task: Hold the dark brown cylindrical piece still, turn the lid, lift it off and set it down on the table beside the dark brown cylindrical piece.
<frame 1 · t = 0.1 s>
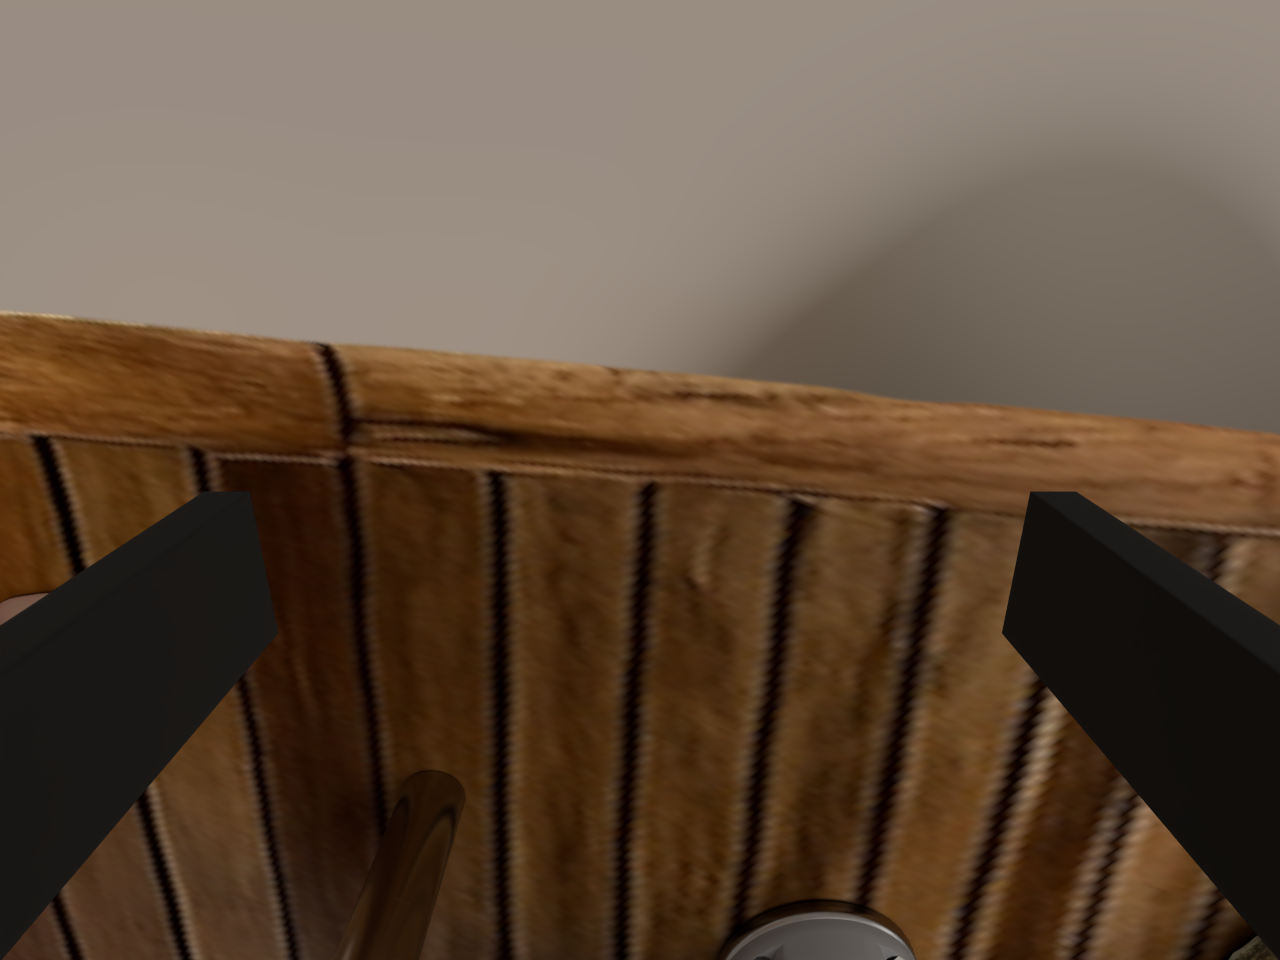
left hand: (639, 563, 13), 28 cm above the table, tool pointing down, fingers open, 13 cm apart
dark brown cylindrical piece: (434, 795, 50), on the table
anatomical model: (63, 674, 47), on the table
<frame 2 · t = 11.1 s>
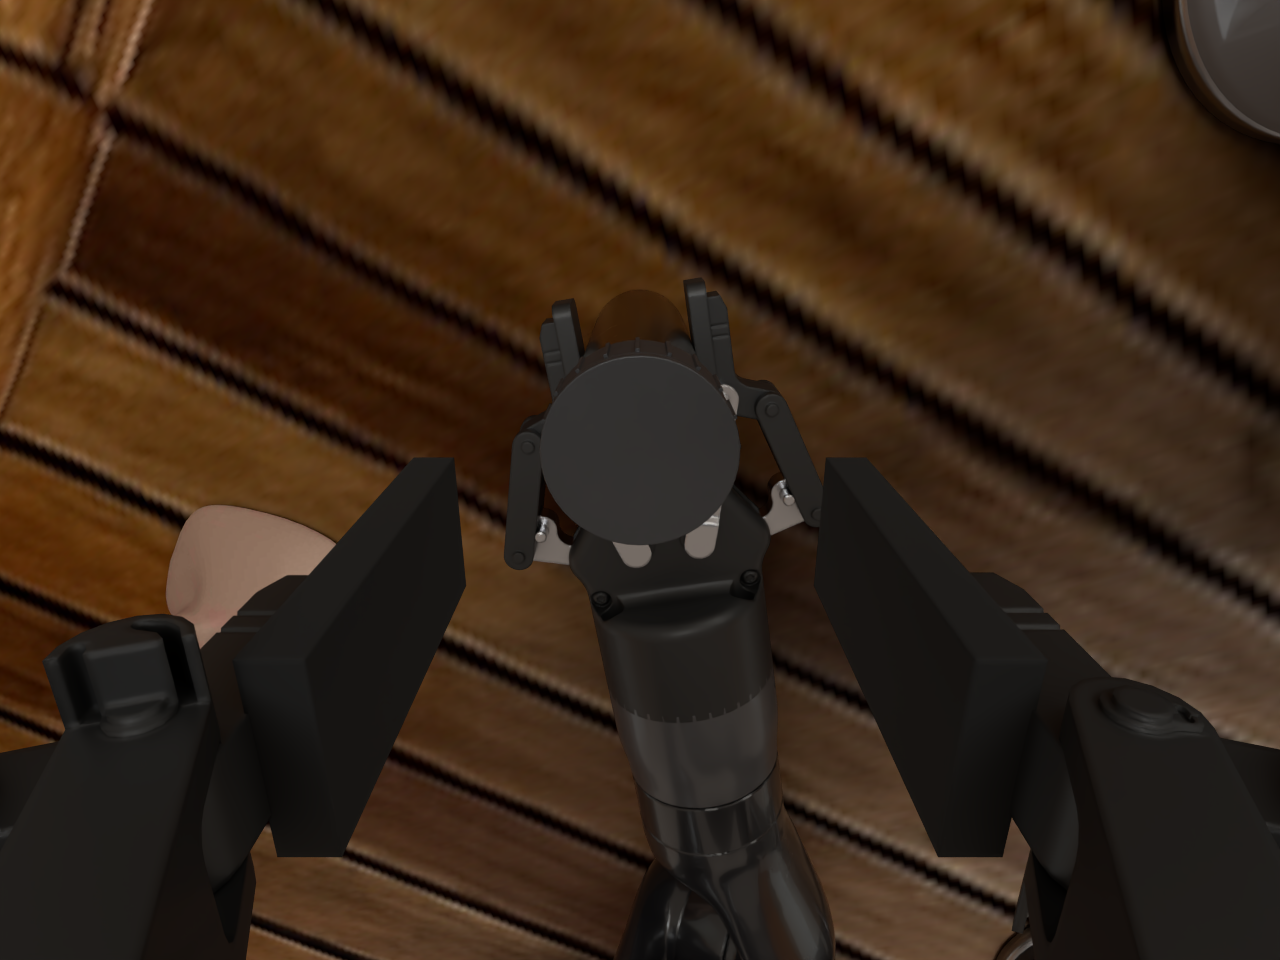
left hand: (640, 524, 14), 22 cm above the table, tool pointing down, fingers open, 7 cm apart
right hand: (627, 293, 27), fingers closed on dark brown cylindrical piece, 4 cm apart
lid: (639, 450, 18), point 17 cm above the table, screwed on, not yet turned
dark brown cylindrical piece: (639, 336, 34), on the table, touching right hand
anatomical model: (281, 616, 40), on the table
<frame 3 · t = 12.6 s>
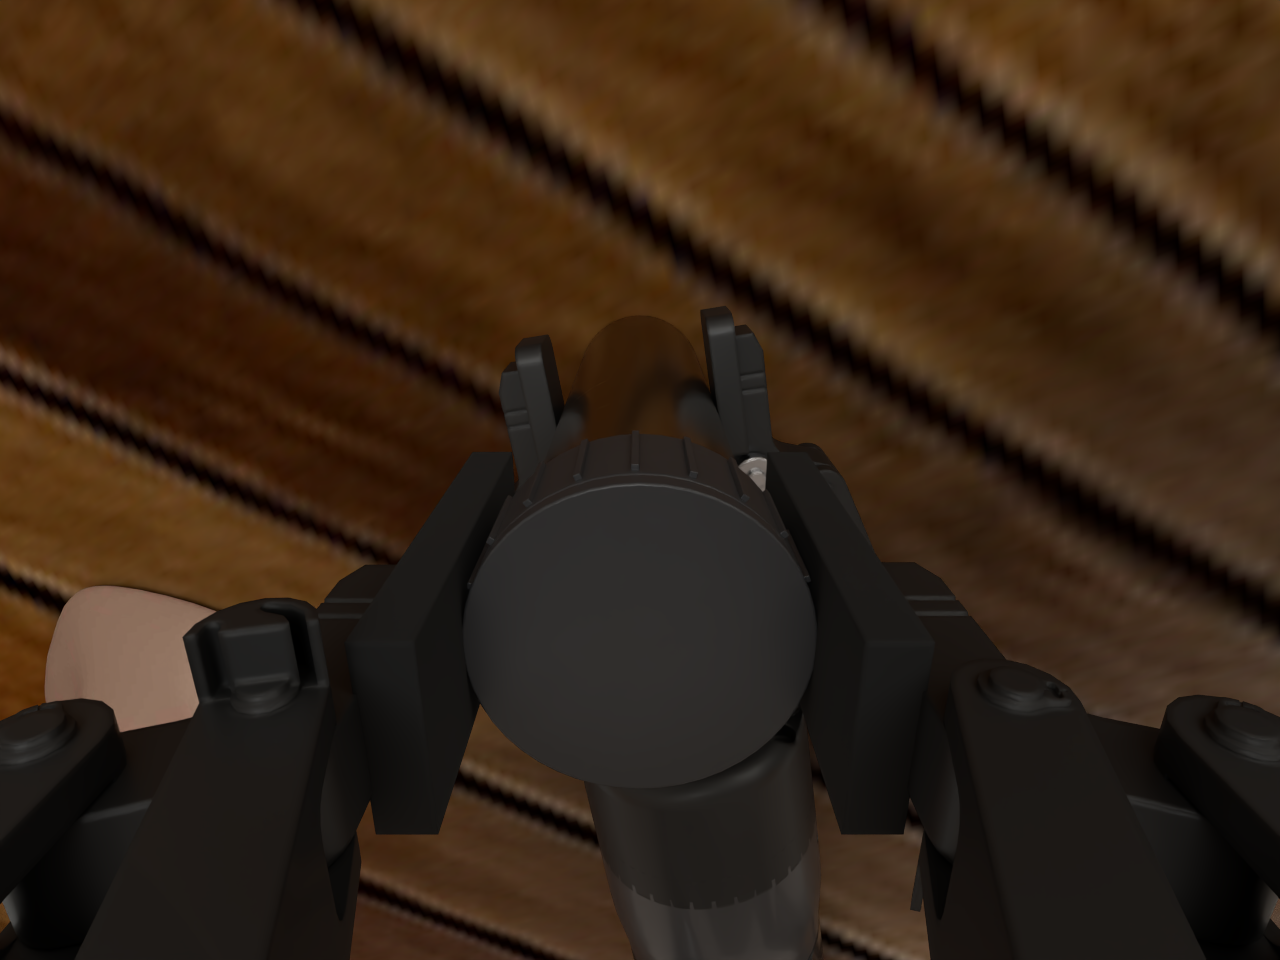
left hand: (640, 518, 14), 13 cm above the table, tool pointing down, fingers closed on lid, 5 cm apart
lid: (639, 635, 10), point 17 cm above the table, screwed on, not yet turned, touching left hand
dark brown cylindrical piece: (640, 375, 27), on the table, touching right hand
anatomical model: (192, 718, 32), on the table
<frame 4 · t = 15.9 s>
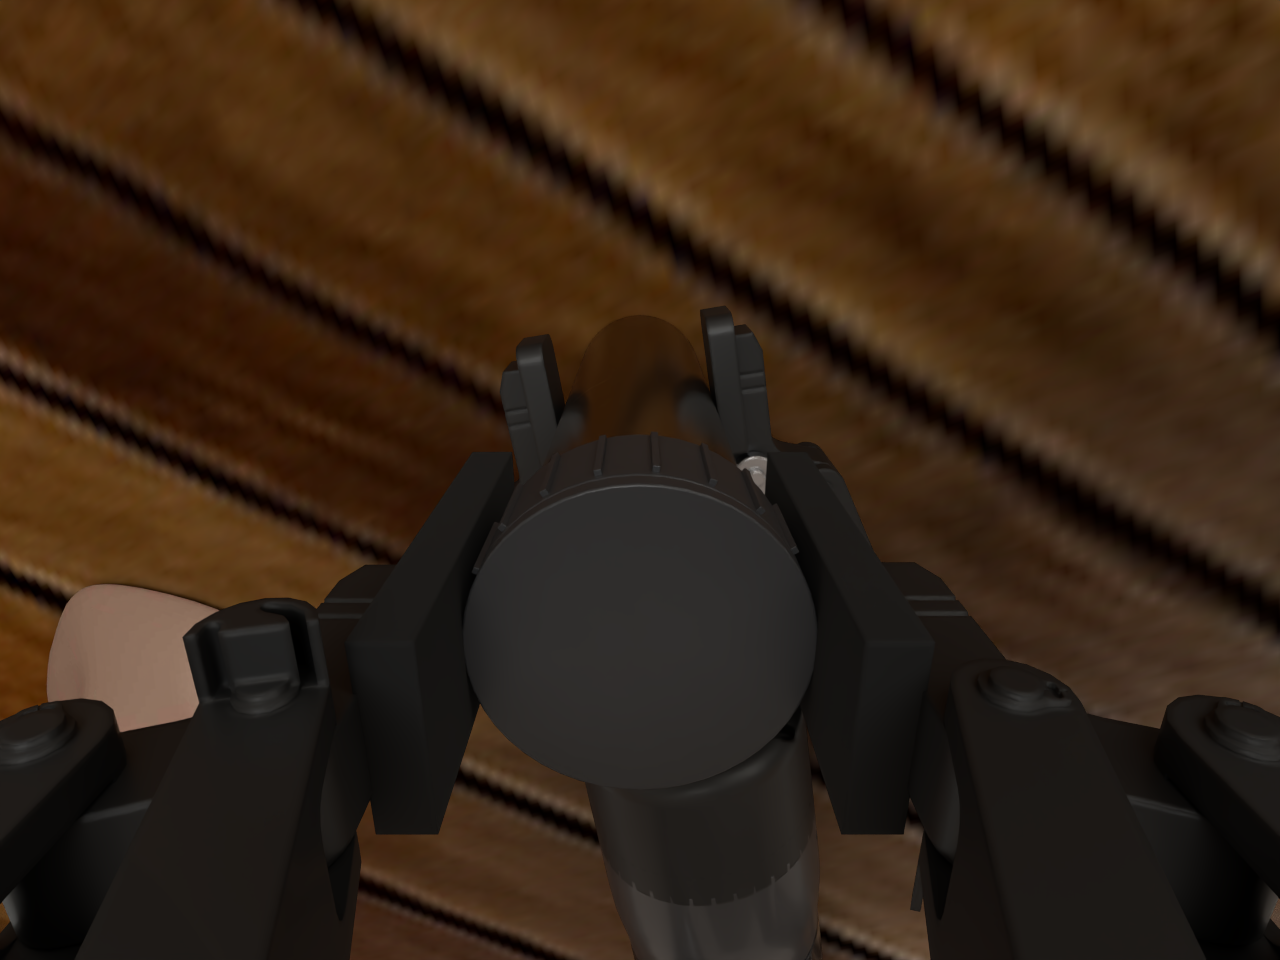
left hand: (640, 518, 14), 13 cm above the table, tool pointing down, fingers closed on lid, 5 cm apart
lid: (640, 636, 10), point 17 cm above the table, turned 84° so far, risen 0.1 cm, still on its thread, touching left hand
dark brown cylindrical piece: (640, 374, 27), on the table, touching right hand
anatomical model: (194, 716, 32), on the table
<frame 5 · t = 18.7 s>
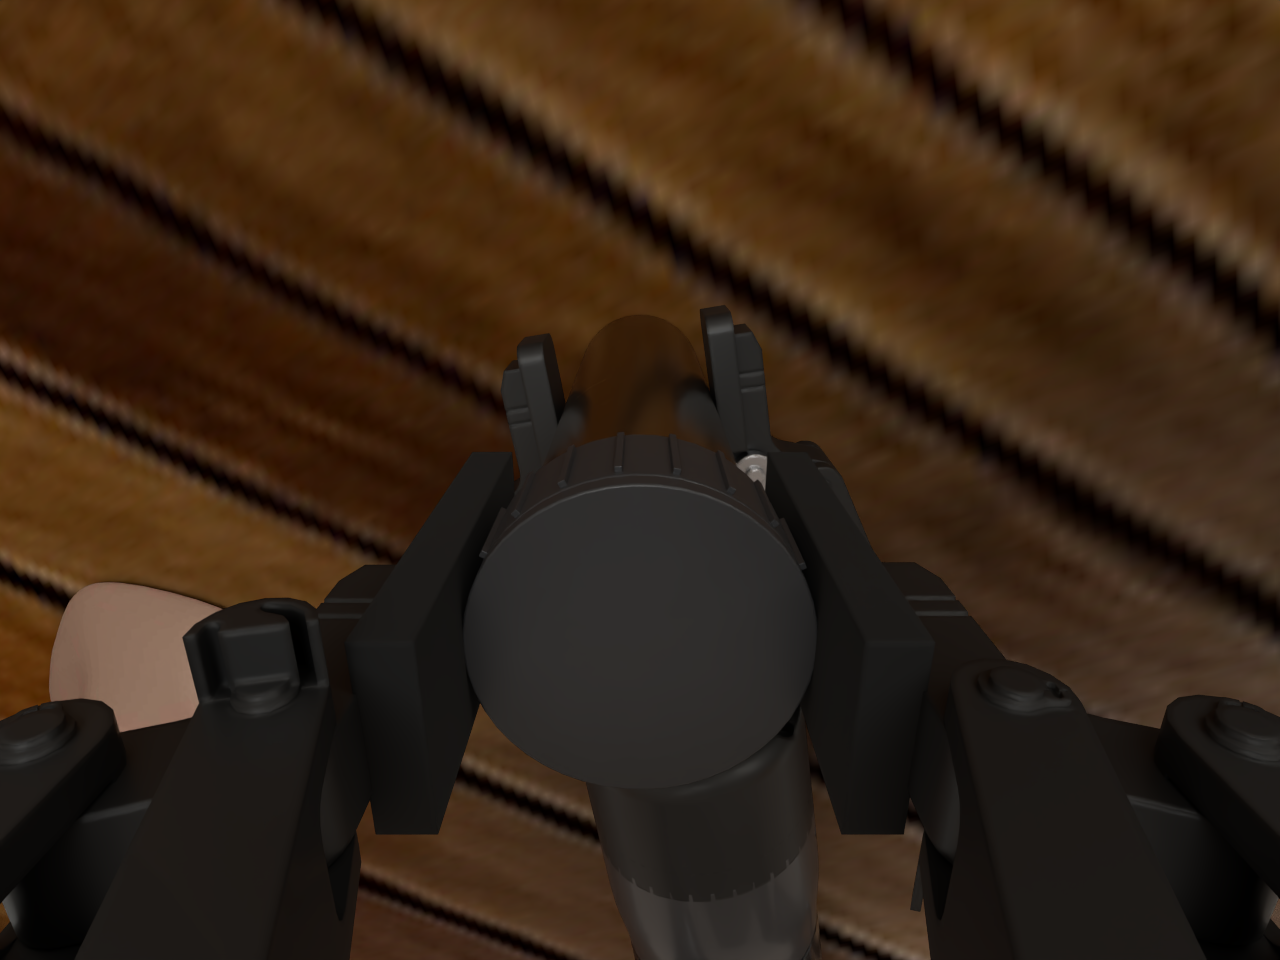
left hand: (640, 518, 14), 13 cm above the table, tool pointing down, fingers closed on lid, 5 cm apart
lid: (640, 636, 10), point 17 cm above the table, turned 167° so far, risen 0.3 cm, still on its thread, touching left hand
dark brown cylindrical piece: (640, 374, 27), on the table, touching right hand
anatomical model: (196, 713, 32), on the table
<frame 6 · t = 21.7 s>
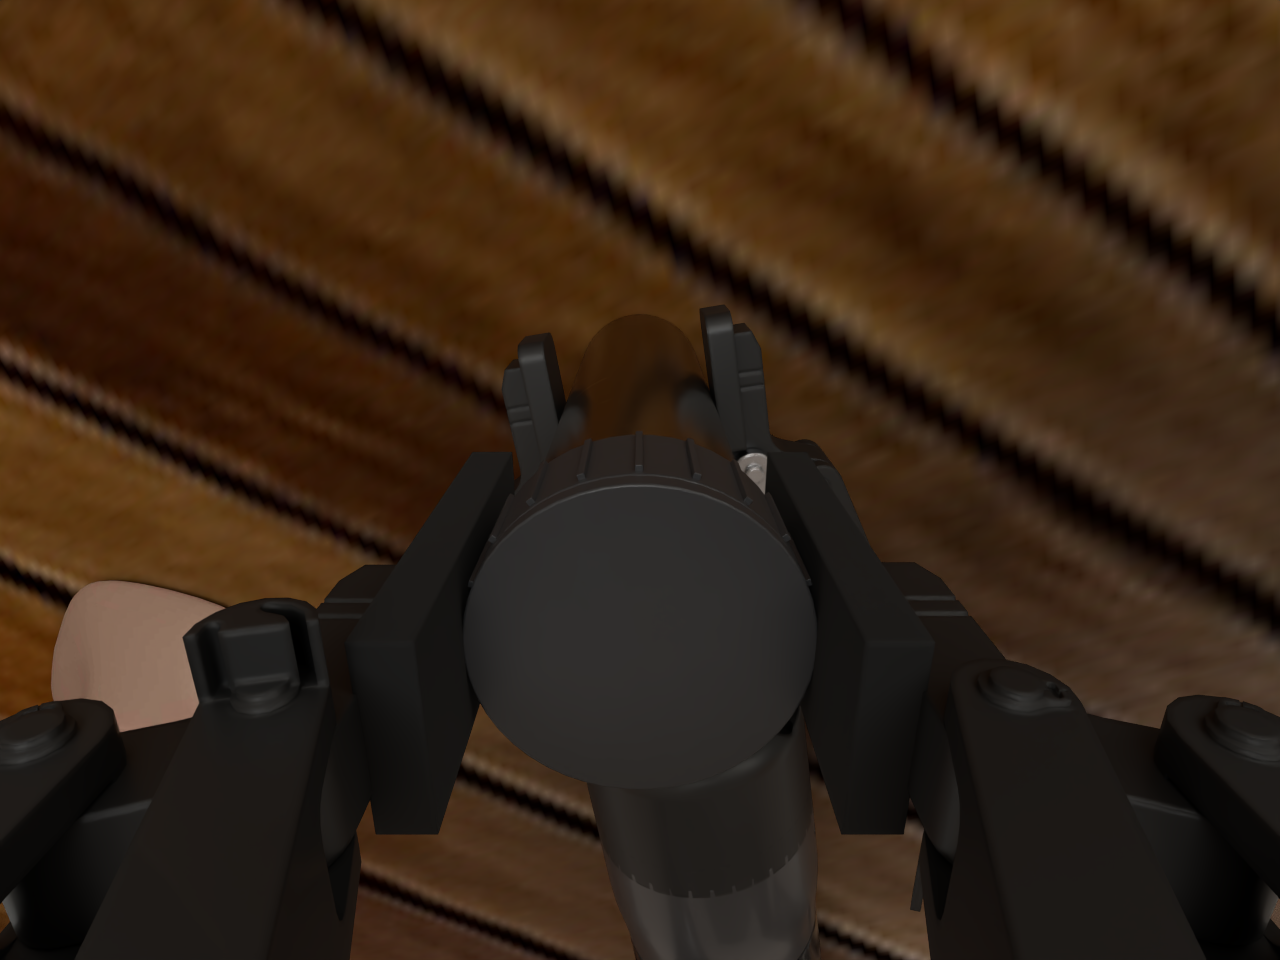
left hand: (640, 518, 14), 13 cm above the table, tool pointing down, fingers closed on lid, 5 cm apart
lid: (640, 636, 10), point 18 cm above the table, turned 251° so far, risen 0.4 cm, still on its thread, touching left hand
dark brown cylindrical piece: (640, 373, 27), on the table, touching right hand
anatomical model: (197, 711, 32), on the table
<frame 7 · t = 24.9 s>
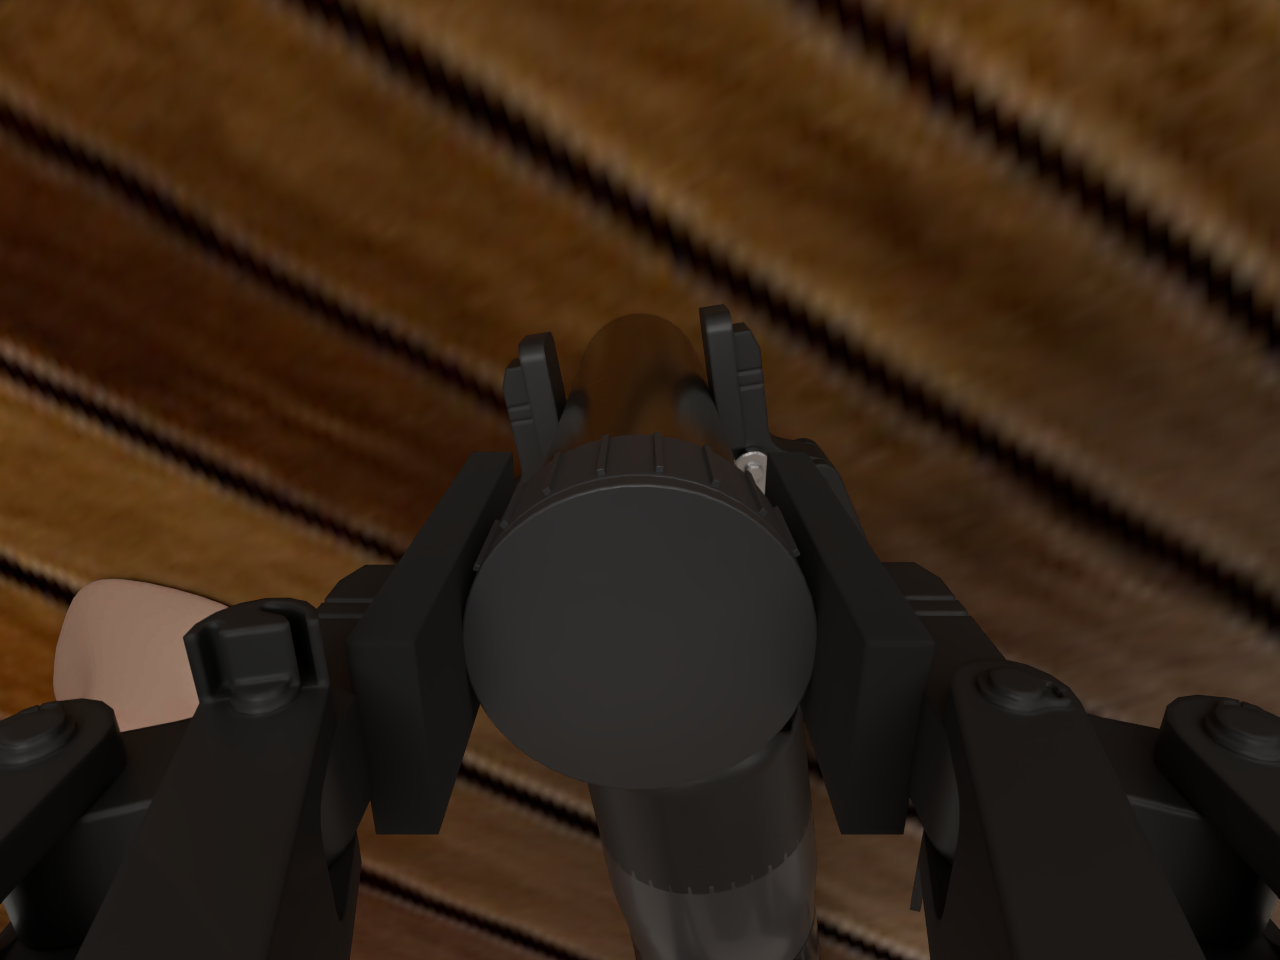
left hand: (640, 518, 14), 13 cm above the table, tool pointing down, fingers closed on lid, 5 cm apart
lid: (639, 636, 10), point 18 cm above the table, turned 335° so far, risen 0.5 cm, still on its thread, touching left hand
dark brown cylindrical piece: (640, 372, 27), on the table, touching right hand
anatomical model: (199, 709, 32), on the table
when the left hand's fingers open (0 cm above the table, at t = 34.7 s): lid drops 3 cm, point 2 cm above the table.
when the right hand's fingers open (7 cm above the table, at t = 35.3 s): dark brown cylindrical piece stays where it is, on the table.
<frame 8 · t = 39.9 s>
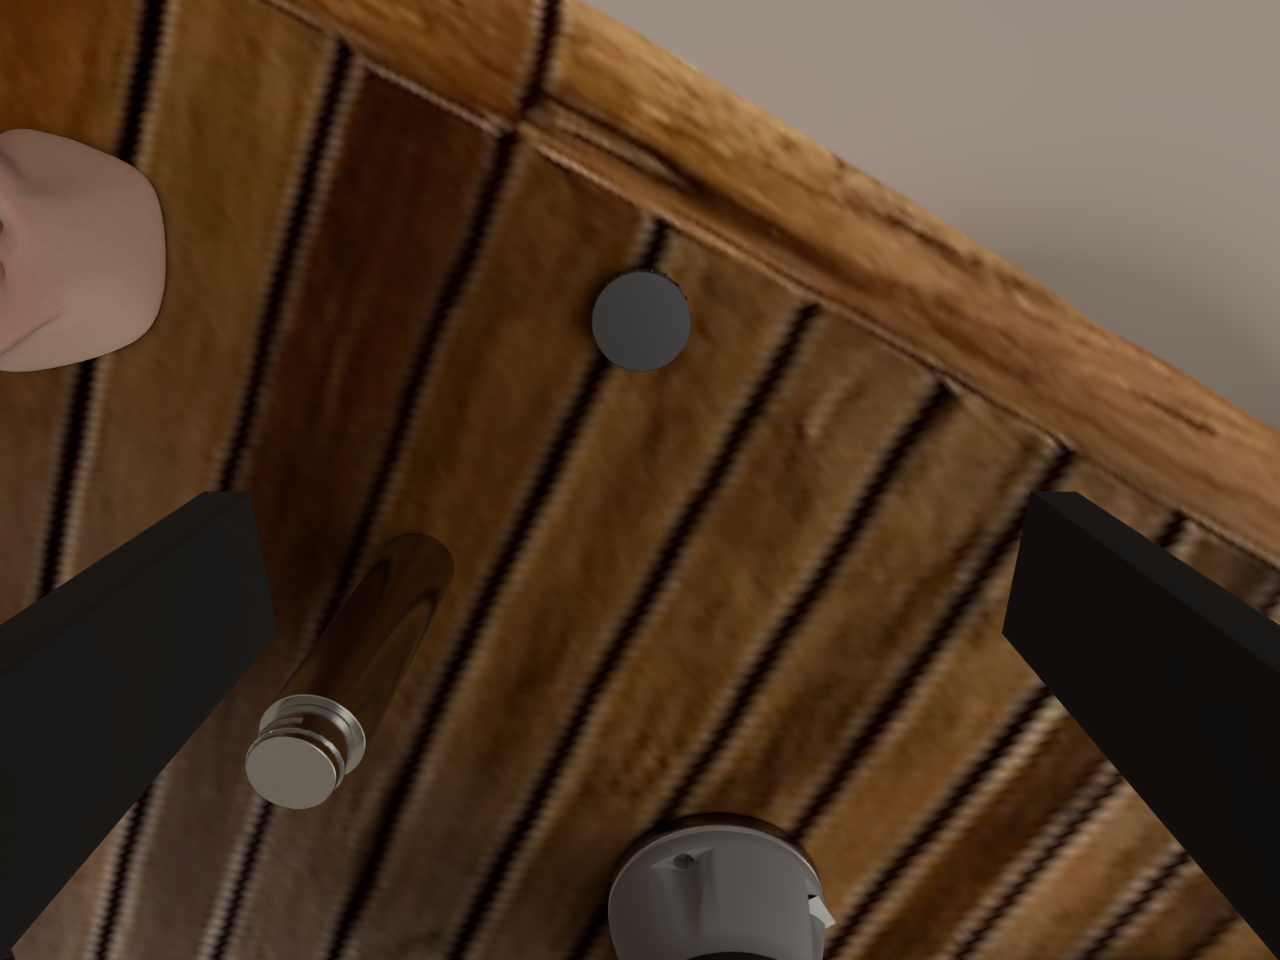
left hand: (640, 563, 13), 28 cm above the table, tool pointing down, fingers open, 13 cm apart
lid: (641, 321, 37), point 2 cm above the table, off its thread
dark brown cylindrical piece: (418, 566, 44), on the table
anatomical model: (48, 254, 37), on the table
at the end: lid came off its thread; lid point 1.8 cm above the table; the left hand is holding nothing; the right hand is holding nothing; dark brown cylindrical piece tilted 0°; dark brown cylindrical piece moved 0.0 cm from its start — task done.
